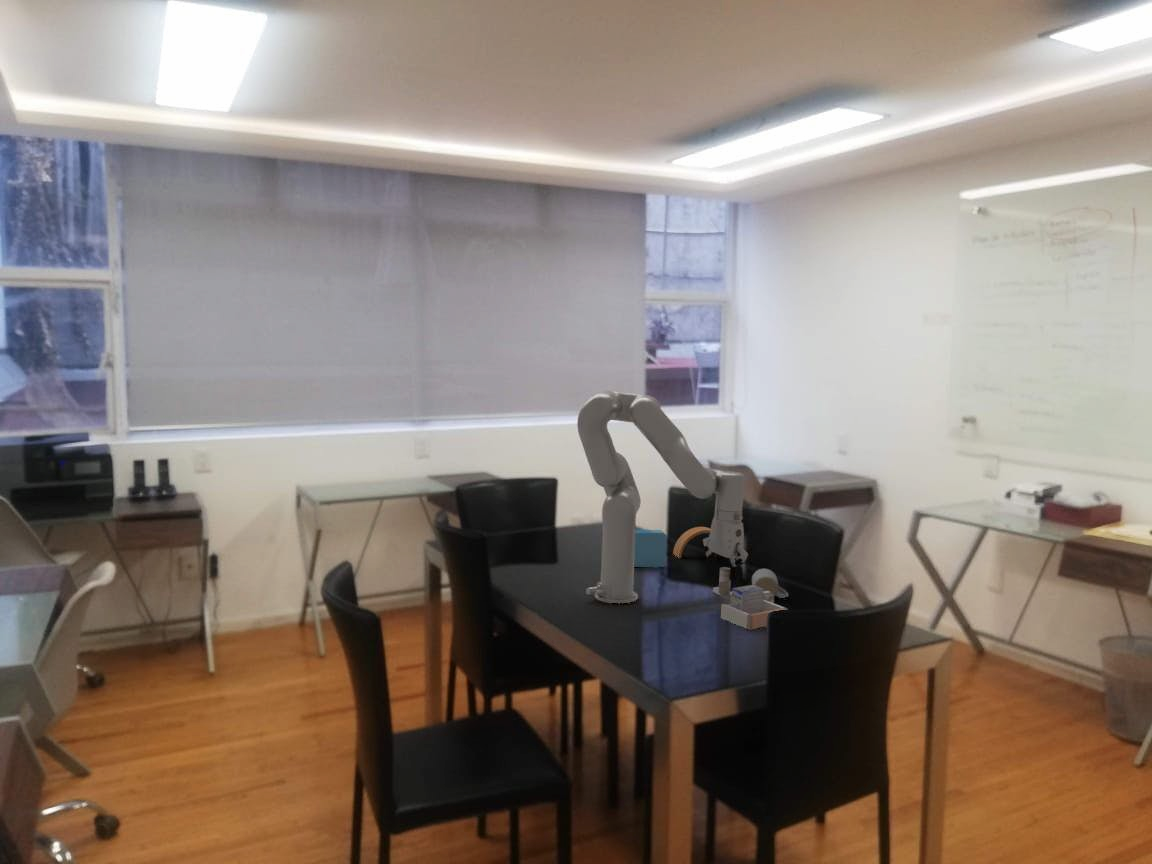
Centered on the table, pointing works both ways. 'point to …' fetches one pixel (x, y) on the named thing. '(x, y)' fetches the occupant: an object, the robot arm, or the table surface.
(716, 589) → the guide rail
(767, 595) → the crank handle
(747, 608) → the medicine box
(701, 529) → the arch
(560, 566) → the table surface
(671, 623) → the table surface
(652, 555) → the data package
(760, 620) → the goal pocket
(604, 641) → the table surface
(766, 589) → the ceramic mug
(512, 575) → the table surface
